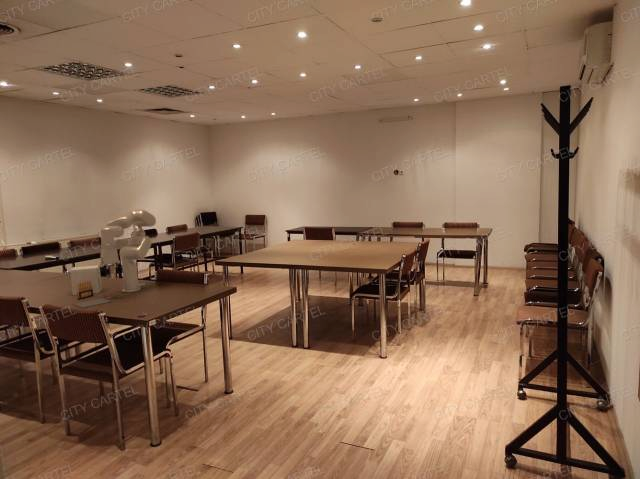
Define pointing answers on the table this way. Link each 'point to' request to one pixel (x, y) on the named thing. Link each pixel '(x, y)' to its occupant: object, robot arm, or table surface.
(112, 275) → the birch tile
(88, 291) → the ammunition clip
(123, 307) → the table surface
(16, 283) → the table surface
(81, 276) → the supplement box
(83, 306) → the rubber mat
